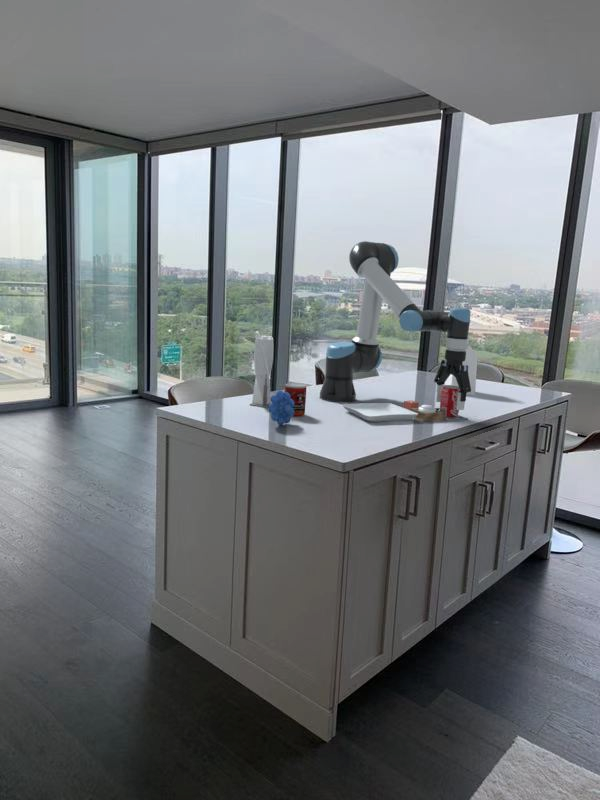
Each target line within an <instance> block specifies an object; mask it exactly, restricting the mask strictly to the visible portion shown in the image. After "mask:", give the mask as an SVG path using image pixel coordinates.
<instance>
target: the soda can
mask: <svg viewBox="0 0 600 800" xmlns="http://www.w3.org/2000/svg"><path fill="white" fill-rule="evenodd" d="M459 391H460V390H459V387H458V386H453V385H444V388H443V389H442V393H441V401H440V402H439V404H440V405H439V408H440V410H439V411H441V412H443V413H444V418H445V419H446V418H448V419H457V418H459V417H458V415H459V411H460V410H457V402H458V393H459Z"/></svg>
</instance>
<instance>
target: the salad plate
mask: <svg viewBox="0 0 600 800" xmlns="http://www.w3.org/2000/svg"><path fill="white" fill-rule="evenodd" d="M342 407H343V408H344V410H346V411H347V412H349V413H351V414H353V415H355V416H357V417H359V418H361V419H363V420H365V419H366V421H368V422H371V421H372V423H373V422H374V423H381V422H382V421H387V422H403V420H404V421H406V420H411V419H415V418H414V417H416V416H417V415H418V413H415V412H413V411H410V410H408V409H405V408H403V407H402V406H398V405H397V404H394V403H391V402H376V403H375V402H374V403H373V402H370V403H369V402H365V403H348V404H346V403H345V404H342Z"/></svg>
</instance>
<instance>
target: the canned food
mask: <svg viewBox="0 0 600 800" xmlns="http://www.w3.org/2000/svg"><path fill="white" fill-rule="evenodd" d="M284 392H288V393H289V394H290V399H292V400H293V401H294V406H293V407H292V408H293V409H294V412H295V413H294V415H293V416H292V417H296V418H297V417H299V418H300V417H303V416H304V415H305V413H306V402H307V401H306V400H307V384H305V383H300V382H287V383H285V386H284Z"/></svg>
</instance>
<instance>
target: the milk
mask: <svg viewBox="0 0 600 800" xmlns="http://www.w3.org/2000/svg"><path fill="white" fill-rule="evenodd" d="M469 339H470V338H469V337H468V340H467V349H466V350H465V351H466V359H465V361H463V362H462V364H463V365H468V375H469V381H470V387H471V392H467V393H466V394H467V395H466V396H476V387H477V386H476V385H477V372H478V371H477V370H478V354H477V353H476V351H475V350H474V349H473V348H472V347H471V346H470V344H469ZM459 374H460V373H459ZM445 385H453V386H458V383H457V380H456V377H454V375H452V374H450V376H449V377H448V379H447V380H446V381H445ZM458 387H459V386H458ZM467 389H468V388H467ZM459 390H460V389H459Z"/></svg>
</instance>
